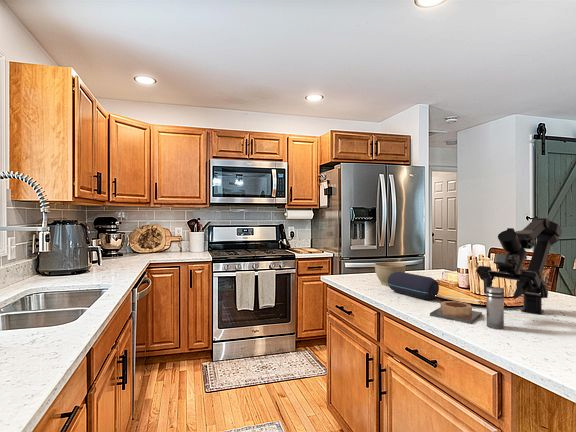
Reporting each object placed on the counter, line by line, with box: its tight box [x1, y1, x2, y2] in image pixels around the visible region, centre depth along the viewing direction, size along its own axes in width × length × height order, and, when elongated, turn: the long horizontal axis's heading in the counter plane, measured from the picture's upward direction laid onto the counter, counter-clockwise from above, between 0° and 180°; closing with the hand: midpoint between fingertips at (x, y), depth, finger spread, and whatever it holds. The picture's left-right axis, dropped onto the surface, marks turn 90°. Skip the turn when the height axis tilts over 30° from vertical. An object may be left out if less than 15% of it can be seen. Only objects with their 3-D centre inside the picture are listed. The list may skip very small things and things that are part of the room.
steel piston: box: [485, 286, 505, 330], centre depth 116 cm, size 5×5×13 cm
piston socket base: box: [429, 300, 483, 324], centre depth 130 cm, size 14×14×4 cm
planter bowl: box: [374, 261, 407, 286], centre depth 187 cm, size 16×16×11 cm
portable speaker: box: [387, 271, 440, 301], centre depth 161 cm, size 25×10×10 cm, turn 29°
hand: (499, 295), depth 118 cm, fingers open, 9 cm apart
